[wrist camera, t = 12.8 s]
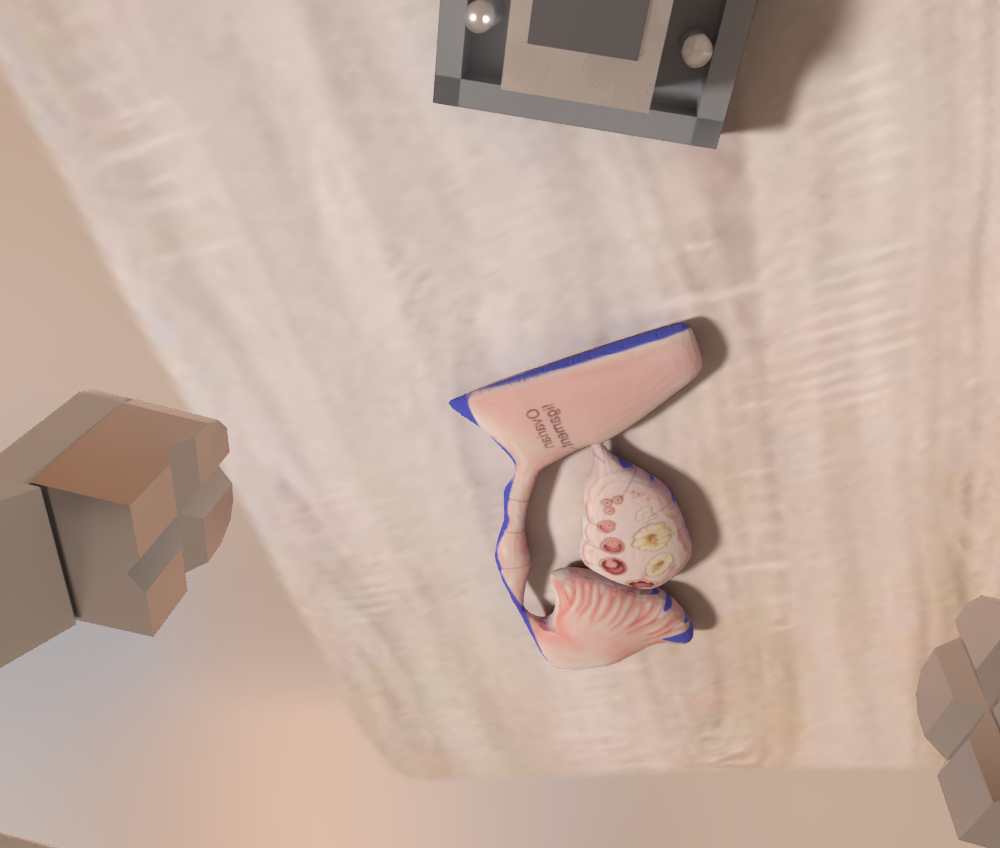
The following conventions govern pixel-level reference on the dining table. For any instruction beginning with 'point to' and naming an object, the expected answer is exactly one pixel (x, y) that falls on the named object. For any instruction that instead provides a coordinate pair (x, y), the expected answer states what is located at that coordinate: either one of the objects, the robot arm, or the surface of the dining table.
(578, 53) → the block
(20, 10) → the dining table surface
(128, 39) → the dining table surface
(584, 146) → the dining table surface
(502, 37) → the pin tray
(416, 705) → the dining table surface
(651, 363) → the anatomical model
